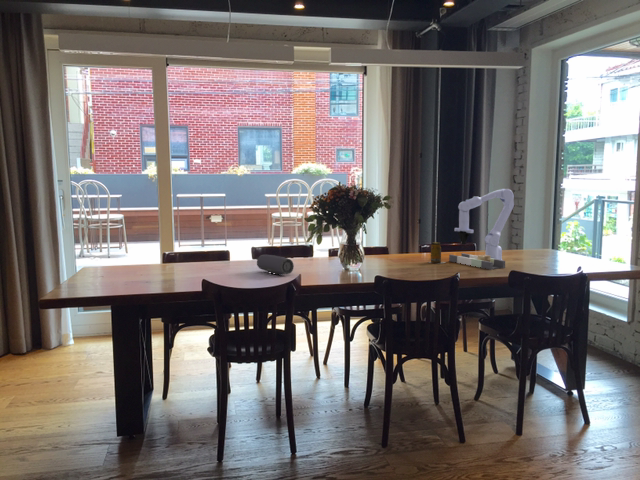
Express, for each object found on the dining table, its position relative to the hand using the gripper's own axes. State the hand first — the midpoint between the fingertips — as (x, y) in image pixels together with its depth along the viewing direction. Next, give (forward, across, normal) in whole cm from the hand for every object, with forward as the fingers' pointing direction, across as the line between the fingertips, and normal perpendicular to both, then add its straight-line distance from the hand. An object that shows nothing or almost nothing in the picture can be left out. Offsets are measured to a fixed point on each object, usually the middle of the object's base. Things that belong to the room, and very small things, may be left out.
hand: (463, 244), depth 327 cm
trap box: (+10, +13, -2) cm, 17 cm away
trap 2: (+10, +26, -2) cm, 29 cm away
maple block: (+8, +20, -2) cm, 21 cm away
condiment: (+11, -4, -17) cm, 20 cm away
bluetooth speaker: (+11, -22, -114) cm, 117 cm away
